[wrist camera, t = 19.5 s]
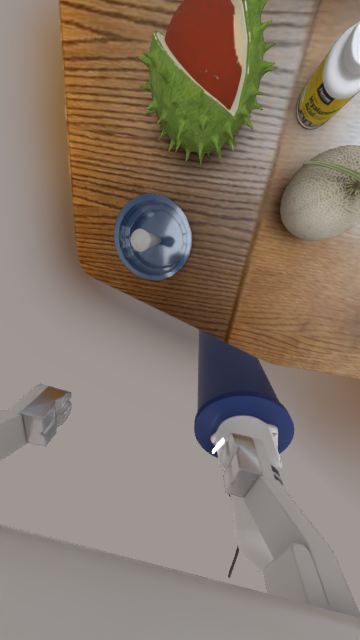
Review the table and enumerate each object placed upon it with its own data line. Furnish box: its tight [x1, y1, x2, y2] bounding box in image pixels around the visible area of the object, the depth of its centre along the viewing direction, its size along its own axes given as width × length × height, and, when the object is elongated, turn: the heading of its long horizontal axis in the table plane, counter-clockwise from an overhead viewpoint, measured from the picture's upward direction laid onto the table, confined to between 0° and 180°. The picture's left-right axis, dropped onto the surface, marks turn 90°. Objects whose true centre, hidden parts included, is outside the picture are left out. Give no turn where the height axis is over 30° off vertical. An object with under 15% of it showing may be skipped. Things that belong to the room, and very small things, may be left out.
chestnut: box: [136, 0, 276, 166], centre depth 22 cm, size 15×14×15 cm
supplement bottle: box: [297, 21, 360, 129], centre depth 22 cm, size 5×5×10 cm
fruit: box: [280, 145, 360, 240], centre depth 24 cm, size 10×12×15 cm
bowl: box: [114, 194, 193, 280], centre depth 32 cm, size 13×13×6 cm
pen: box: [130, 229, 162, 252], centre depth 28 cm, size 2×3×14 cm
